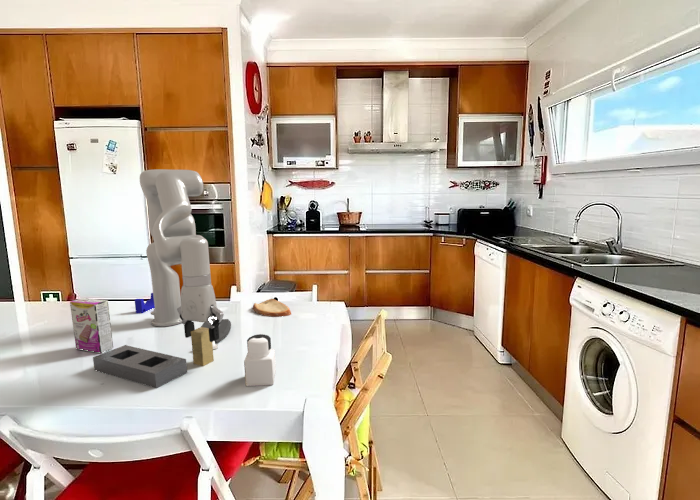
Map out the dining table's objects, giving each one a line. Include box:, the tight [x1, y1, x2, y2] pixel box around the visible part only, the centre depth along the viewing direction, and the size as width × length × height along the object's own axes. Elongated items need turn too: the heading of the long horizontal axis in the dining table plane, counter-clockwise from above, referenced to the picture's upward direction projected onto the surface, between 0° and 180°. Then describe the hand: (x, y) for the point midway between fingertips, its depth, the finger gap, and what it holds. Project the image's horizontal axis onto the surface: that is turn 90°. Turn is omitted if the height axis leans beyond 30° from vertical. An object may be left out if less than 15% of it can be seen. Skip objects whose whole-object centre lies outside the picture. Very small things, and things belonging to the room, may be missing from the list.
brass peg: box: [190, 326, 215, 367], centre depth 122 cm, size 4×4×10 cm
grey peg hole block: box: [92, 344, 188, 389], centre depth 117 cm, size 26×10×4 cm, turn 63°
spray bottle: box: [200, 318, 232, 350], centre depth 143 cm, size 3×11×24 cm
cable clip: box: [134, 292, 155, 314], centre depth 180 cm, size 12×4×6 cm, turn 170°
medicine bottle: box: [243, 333, 277, 387], centre depth 110 cm, size 7×7×12 cm
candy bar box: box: [69, 297, 114, 354], centre depth 134 cm, size 11×5×16 cm, turn 71°
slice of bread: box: [251, 298, 292, 318], centre depth 173 cm, size 18×18×4 cm
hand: (202, 338), depth 121 cm, fingers open, 9 cm apart
